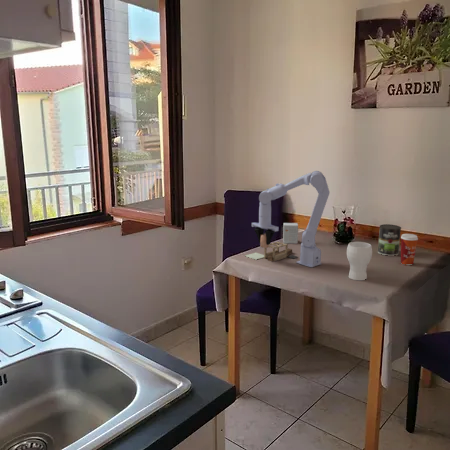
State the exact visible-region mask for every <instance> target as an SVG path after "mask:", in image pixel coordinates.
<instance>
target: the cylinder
mask: <svg viewBox="0 0 450 450" xmlns="http://www.w3.org/2000/svg"><path fill="white" fill-rule="evenodd" d="M259 245H260V248H263V249H264V248H267V249H268V248H270V247H269V246H270V245H267V244H266V233H263V234H261V237H260V243H259Z"/></svg>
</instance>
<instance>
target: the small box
mask: <svg viewBox="0 0 450 450" xmlns="http://www.w3.org/2000/svg"><path fill="white" fill-rule="evenodd" d="M282 226H283V227H282V231H283V232H282V233H283V234H282V241H283V242H282V243H284V244H293V245H294V244H298V241H299V224H298V222H283V225H282Z"/></svg>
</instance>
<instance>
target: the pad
mask: <svg viewBox="0 0 450 450" xmlns="http://www.w3.org/2000/svg"><path fill="white" fill-rule="evenodd" d="M245 256H246V257H245ZM244 257H245V258H248V257H249V259H251V258H252V259H251V260H254V259H255V261H257V259H258V260H260V259H265V258H264V254H263V253H259V252H253V253H250V254H246V255H244Z"/></svg>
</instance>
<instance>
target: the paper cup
mask: <svg viewBox="0 0 450 450" xmlns="http://www.w3.org/2000/svg"><path fill="white" fill-rule="evenodd" d="M418 240H419V238H418V236H417V234H413V233H403V234H401V235H400V264H401V263H402V264H413V265H414V263H415V262H414V261H415V257H416V251H417V244H418ZM402 264H401V265H402Z"/></svg>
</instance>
